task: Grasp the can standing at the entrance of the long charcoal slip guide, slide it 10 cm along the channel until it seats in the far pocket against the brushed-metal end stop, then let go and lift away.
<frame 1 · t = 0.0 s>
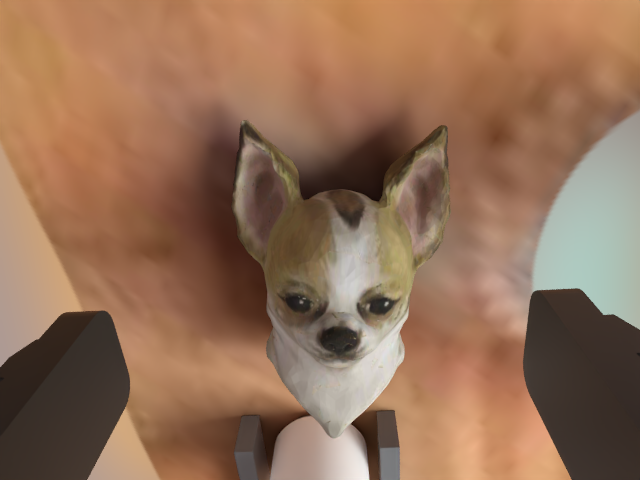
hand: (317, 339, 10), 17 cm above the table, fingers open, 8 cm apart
can: (320, 441, 36), on the table
ceramic sculpture: (338, 241, 28), on the table
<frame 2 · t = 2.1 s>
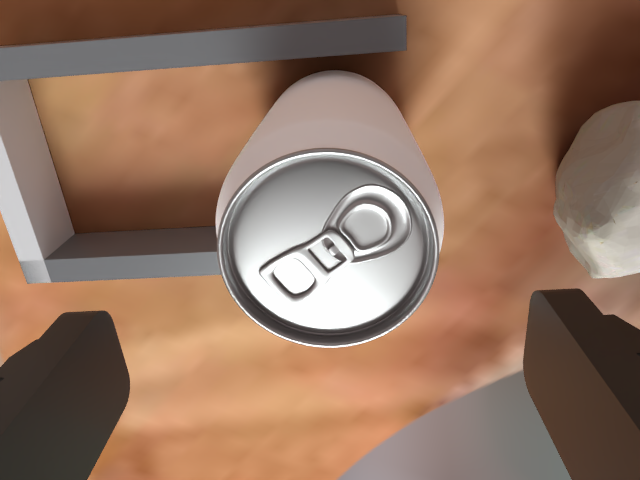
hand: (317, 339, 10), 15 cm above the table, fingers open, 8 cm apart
can: (334, 139, 24), on the table
slip guide: (208, 148, 24), on the table
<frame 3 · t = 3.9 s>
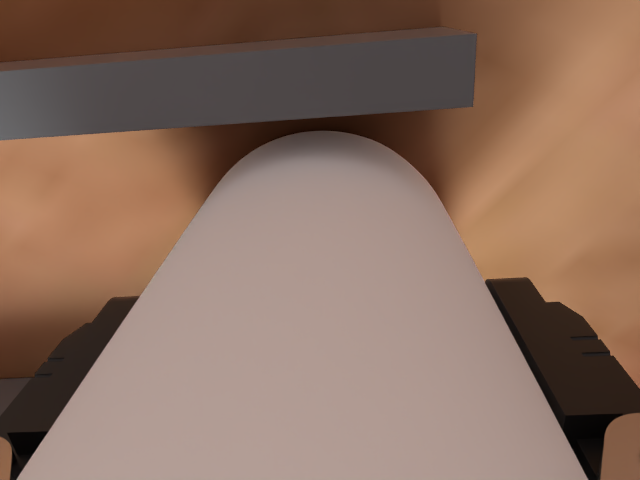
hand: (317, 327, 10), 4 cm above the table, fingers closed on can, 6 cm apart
can: (324, 243, 14), on the table, touching gripper
slip guide: (106, 258, 14), on the table
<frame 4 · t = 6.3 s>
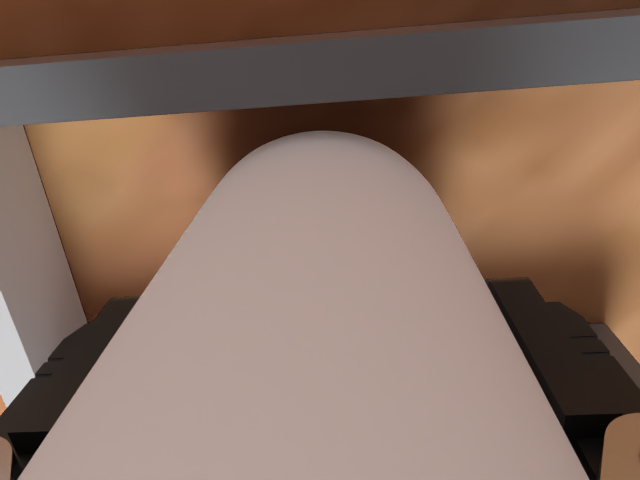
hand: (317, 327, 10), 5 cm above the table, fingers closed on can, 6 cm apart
can: (324, 243, 14), point 1 cm above the table, touching gripper
slip guide: (313, 224, 15), on the table
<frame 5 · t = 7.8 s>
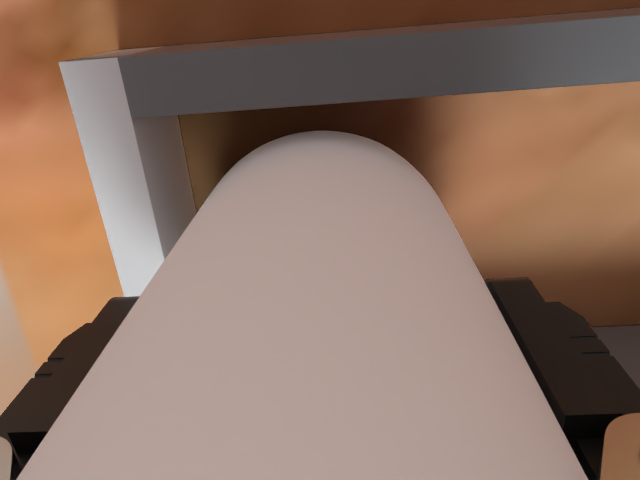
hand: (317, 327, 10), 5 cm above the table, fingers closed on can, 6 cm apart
can: (324, 243, 14), point 1 cm above the table, touching gripper
slip guide: (468, 218, 14), on the table
when the fingers open (5 cm above the table, at t = 8.7 s): can drops 1 cm, on the table.
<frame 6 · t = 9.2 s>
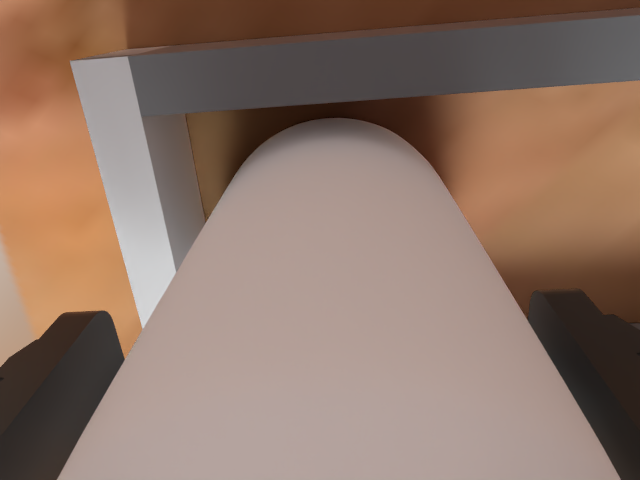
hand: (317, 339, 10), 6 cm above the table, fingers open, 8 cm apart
can: (335, 221, 15), on the table
slip guide: (472, 216, 14), on the table
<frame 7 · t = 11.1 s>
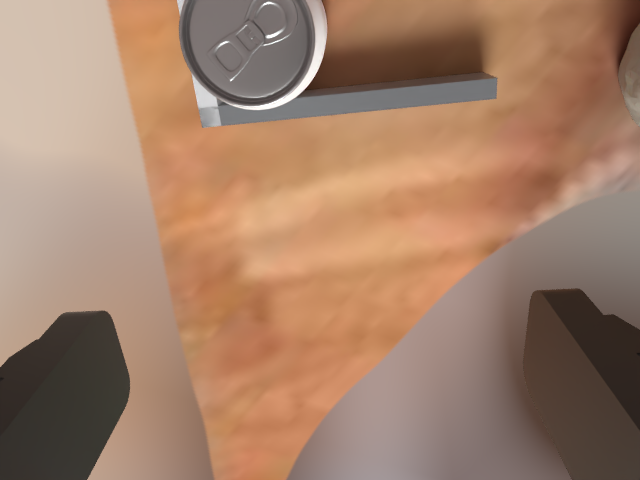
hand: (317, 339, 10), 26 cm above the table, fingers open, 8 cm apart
can: (276, 27, 32), on the table
slip guide: (338, 19, 31), on the table
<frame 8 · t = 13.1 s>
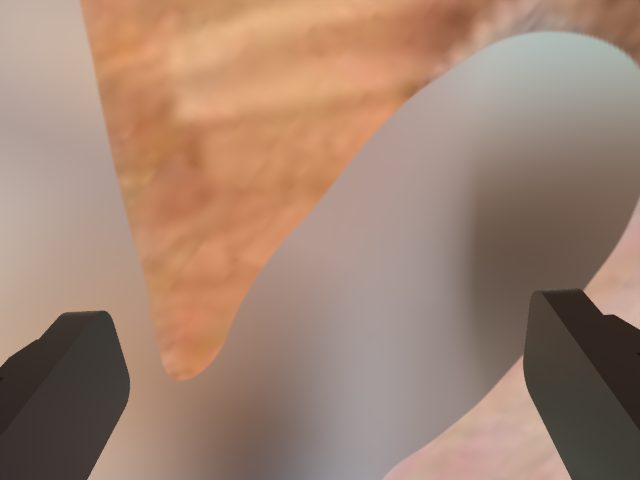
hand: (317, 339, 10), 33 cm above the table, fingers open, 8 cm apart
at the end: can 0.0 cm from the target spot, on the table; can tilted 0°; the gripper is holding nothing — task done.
